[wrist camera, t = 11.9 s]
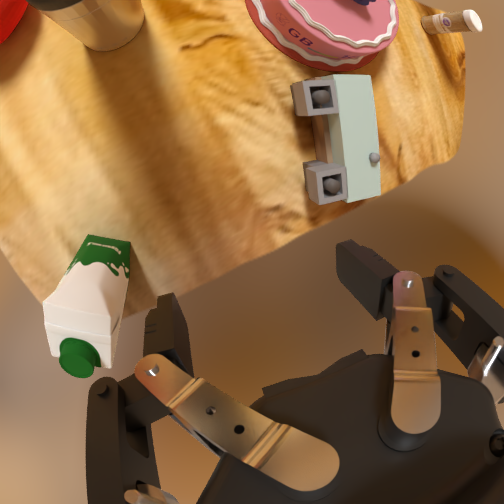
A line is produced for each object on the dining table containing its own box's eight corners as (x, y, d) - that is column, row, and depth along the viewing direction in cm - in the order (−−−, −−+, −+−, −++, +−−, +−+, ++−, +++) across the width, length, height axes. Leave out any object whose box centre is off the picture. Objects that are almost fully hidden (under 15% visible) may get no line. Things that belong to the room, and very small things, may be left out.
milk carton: (81, 278, 39) (43, 371, 21) (83, 226, 35) (28, 307, 18) (130, 287, 42) (115, 386, 25) (137, 236, 39) (114, 327, 21)
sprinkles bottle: (417, 19, 31) (467, 11, 19) (426, 14, 30) (474, 7, 19) (428, 37, 33) (479, 34, 21) (436, 32, 32) (485, 29, 21)
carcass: (289, 81, 34) (312, 74, 28) (349, 78, 35) (377, 75, 29) (306, 195, 43) (329, 209, 36) (360, 182, 44) (387, 194, 38)
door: (291, 78, 31) (304, 74, 27) (357, 76, 32) (374, 74, 29) (309, 203, 39) (322, 212, 36) (368, 189, 41) (384, 196, 37)
